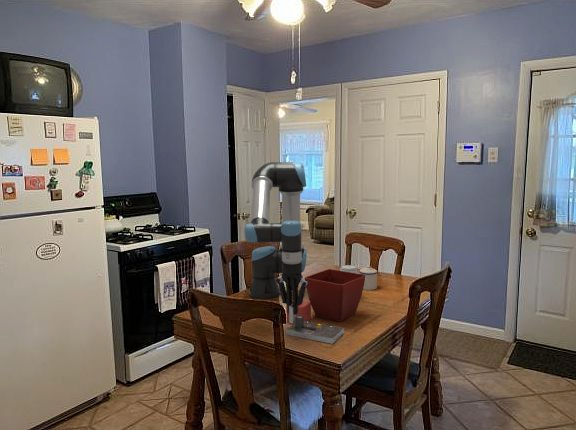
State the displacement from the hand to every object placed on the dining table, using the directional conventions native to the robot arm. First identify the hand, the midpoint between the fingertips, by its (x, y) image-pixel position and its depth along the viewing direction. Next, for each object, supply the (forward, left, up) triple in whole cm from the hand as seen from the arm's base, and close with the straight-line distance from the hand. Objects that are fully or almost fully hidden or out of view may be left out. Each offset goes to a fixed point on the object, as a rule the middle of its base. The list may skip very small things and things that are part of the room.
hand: (292, 321), depth 166 cm
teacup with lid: (+7, +67, -4) cm, 67 cm away
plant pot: (+8, +24, -4) cm, 25 cm away
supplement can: (+5, +48, -4) cm, 48 cm away
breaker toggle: (+3, 0, -1) cm, 3 cm away
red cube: (-3, +11, -4) cm, 12 cm away
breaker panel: (+9, +1, -4) cm, 10 cm away
